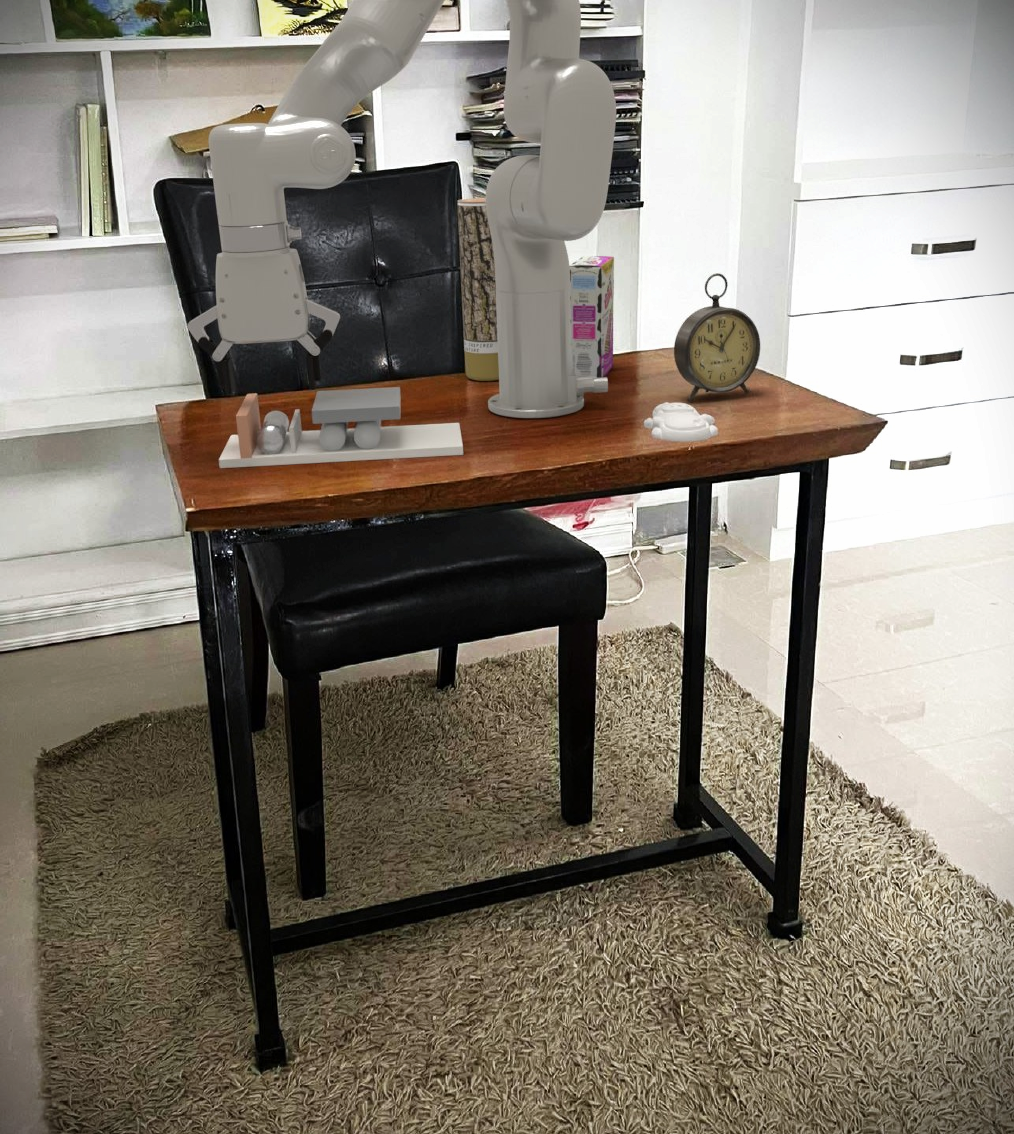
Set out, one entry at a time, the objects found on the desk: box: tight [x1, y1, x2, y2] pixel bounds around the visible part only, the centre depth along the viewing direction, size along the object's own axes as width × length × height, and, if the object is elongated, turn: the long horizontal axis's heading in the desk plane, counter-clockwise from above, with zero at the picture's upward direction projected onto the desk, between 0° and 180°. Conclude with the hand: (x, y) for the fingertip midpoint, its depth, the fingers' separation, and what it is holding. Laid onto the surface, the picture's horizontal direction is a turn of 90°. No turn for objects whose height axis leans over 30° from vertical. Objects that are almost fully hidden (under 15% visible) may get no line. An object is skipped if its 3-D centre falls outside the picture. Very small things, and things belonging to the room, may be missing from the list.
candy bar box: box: [569, 255, 615, 378], centre depth 180 cm, size 11×5×16 cm, turn 166°
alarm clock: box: [673, 273, 761, 403], centre depth 165 cm, size 11×5×16 cm, turn 110°
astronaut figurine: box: [643, 401, 719, 443], centre depth 153 cm, size 9×12×3 cm
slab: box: [311, 386, 402, 425], centre depth 148 cm, size 10×10×2 cm
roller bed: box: [218, 392, 464, 469], centre depth 149 cm, size 28×11×6 cm, turn 94°
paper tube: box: [456, 197, 499, 382], centre depth 179 cm, size 7×7×25 cm
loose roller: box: [257, 410, 290, 455], centre depth 148 cm, size 3×9×3 cm, turn 5°
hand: (272, 389), depth 147 cm, fingers open, 9 cm apart
